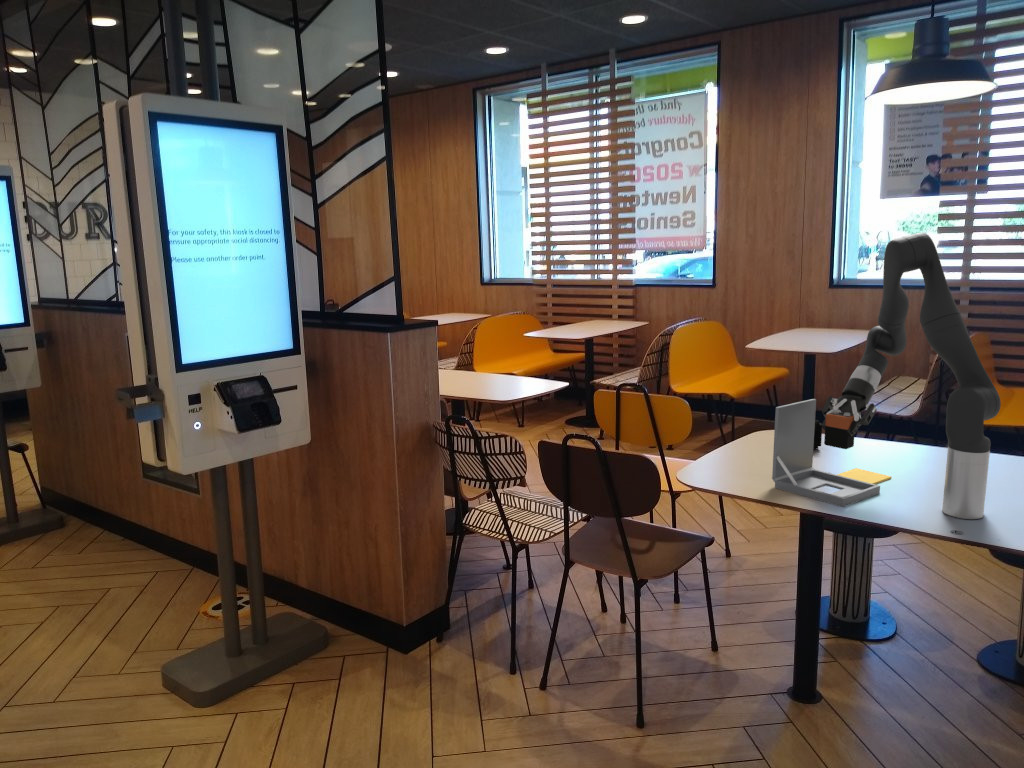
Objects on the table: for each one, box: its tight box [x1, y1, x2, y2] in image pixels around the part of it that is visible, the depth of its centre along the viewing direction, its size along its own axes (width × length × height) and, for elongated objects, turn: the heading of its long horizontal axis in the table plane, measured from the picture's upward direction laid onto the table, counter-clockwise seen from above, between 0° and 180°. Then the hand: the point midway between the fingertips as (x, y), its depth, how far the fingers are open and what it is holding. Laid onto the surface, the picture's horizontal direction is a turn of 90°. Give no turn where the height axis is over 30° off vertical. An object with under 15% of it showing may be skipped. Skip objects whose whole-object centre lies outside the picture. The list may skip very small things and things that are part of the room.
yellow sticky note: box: [836, 467, 892, 485], centre depth 234 cm, size 11×11×1 cm
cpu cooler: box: [813, 419, 823, 450], centre depth 266 cm, size 10×6×10 cm, turn 82°
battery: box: [823, 409, 855, 450], centre depth 223 cm, size 4×7×10 cm, turn 40°
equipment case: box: [771, 398, 881, 508], centre depth 221 cm, size 18×22×23 cm
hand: (836, 431), depth 222 cm, fingers closed on battery, 7 cm apart
